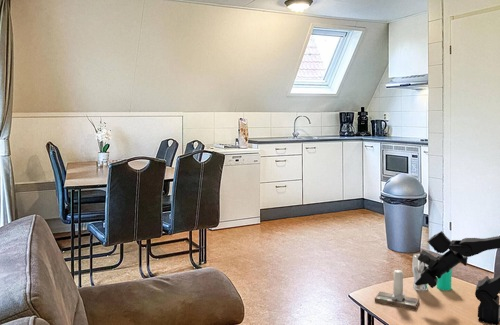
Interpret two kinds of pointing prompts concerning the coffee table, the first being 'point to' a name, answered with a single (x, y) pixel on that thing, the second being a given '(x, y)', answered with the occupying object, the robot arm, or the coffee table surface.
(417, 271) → the beer glass
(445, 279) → the candle
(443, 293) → the coffee table surface
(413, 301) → the board
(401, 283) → the tuning slider
